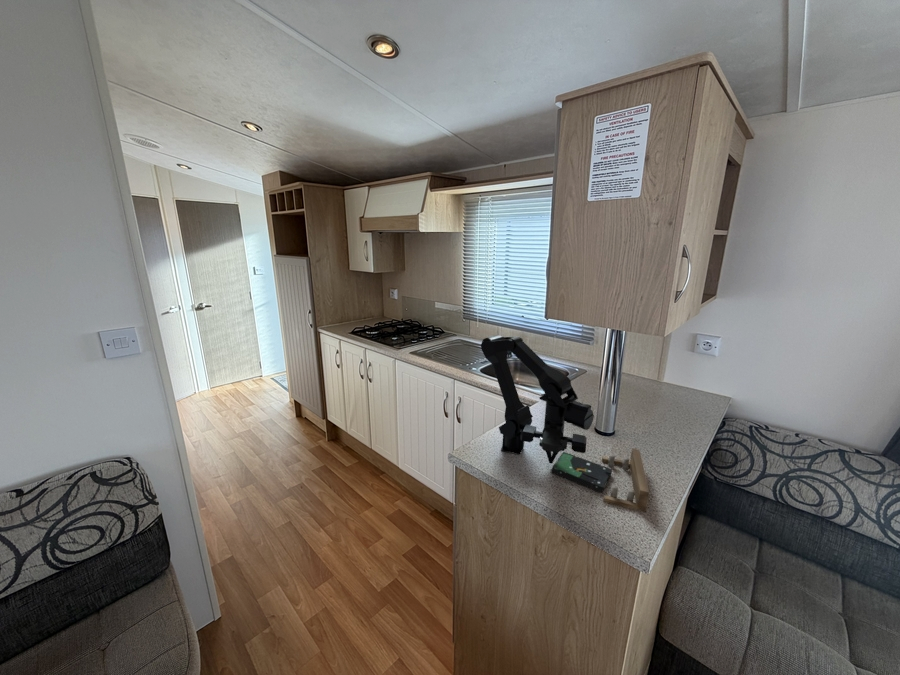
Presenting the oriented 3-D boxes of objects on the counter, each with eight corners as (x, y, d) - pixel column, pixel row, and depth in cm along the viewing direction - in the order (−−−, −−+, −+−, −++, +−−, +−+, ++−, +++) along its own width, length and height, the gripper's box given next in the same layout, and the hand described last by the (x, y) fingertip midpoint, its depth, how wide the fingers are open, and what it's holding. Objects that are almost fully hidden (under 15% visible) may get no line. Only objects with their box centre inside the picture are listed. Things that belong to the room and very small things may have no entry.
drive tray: (603, 501, 94) (606, 482, 92) (601, 459, 112) (604, 443, 110) (645, 512, 90) (649, 492, 89) (636, 466, 109) (639, 449, 107)
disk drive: (611, 476, 105) (562, 458, 113) (612, 468, 104) (563, 450, 113) (602, 496, 97) (550, 474, 105) (603, 487, 96) (551, 466, 105)
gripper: (518, 423, 100) (515, 470, 104) (588, 436, 93) (582, 486, 97) (525, 407, 110) (522, 450, 114) (588, 417, 103) (583, 464, 107)
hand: (550, 462), depth 108 cm, fingers closed
